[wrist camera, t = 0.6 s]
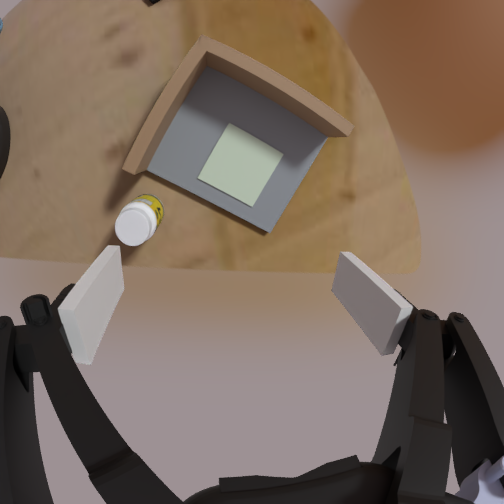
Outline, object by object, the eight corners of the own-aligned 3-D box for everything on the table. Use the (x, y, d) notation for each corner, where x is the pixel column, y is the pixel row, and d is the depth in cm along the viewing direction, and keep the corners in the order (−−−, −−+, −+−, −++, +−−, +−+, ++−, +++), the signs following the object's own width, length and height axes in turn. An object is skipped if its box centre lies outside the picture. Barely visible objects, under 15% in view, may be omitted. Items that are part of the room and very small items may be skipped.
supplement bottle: (160, 231, 36) (148, 254, 28) (128, 223, 35) (108, 244, 27) (168, 197, 35) (156, 212, 27) (135, 189, 33) (114, 202, 26)
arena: (137, 164, 32) (121, 168, 26) (202, 53, 28) (201, 34, 22) (268, 231, 38) (280, 248, 32) (330, 128, 34) (354, 126, 28)
